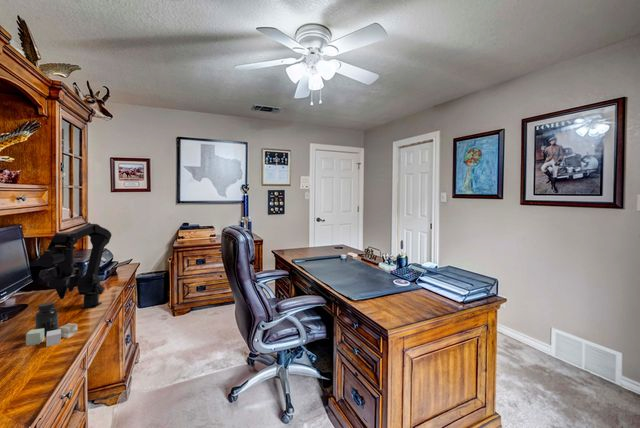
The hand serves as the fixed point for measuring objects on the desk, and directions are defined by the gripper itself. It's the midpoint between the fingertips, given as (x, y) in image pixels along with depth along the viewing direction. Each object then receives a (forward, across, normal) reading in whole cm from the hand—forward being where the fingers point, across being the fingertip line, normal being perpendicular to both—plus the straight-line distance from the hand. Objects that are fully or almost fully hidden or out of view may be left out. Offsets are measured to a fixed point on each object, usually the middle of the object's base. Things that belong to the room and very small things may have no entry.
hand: (66, 295), depth 133 cm
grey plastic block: (+11, +24, +4) cm, 26 cm away
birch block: (+11, +18, +7) cm, 22 cm away
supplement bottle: (+11, +14, -2) cm, 18 cm away
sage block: (+11, +22, -2) cm, 25 cm away
